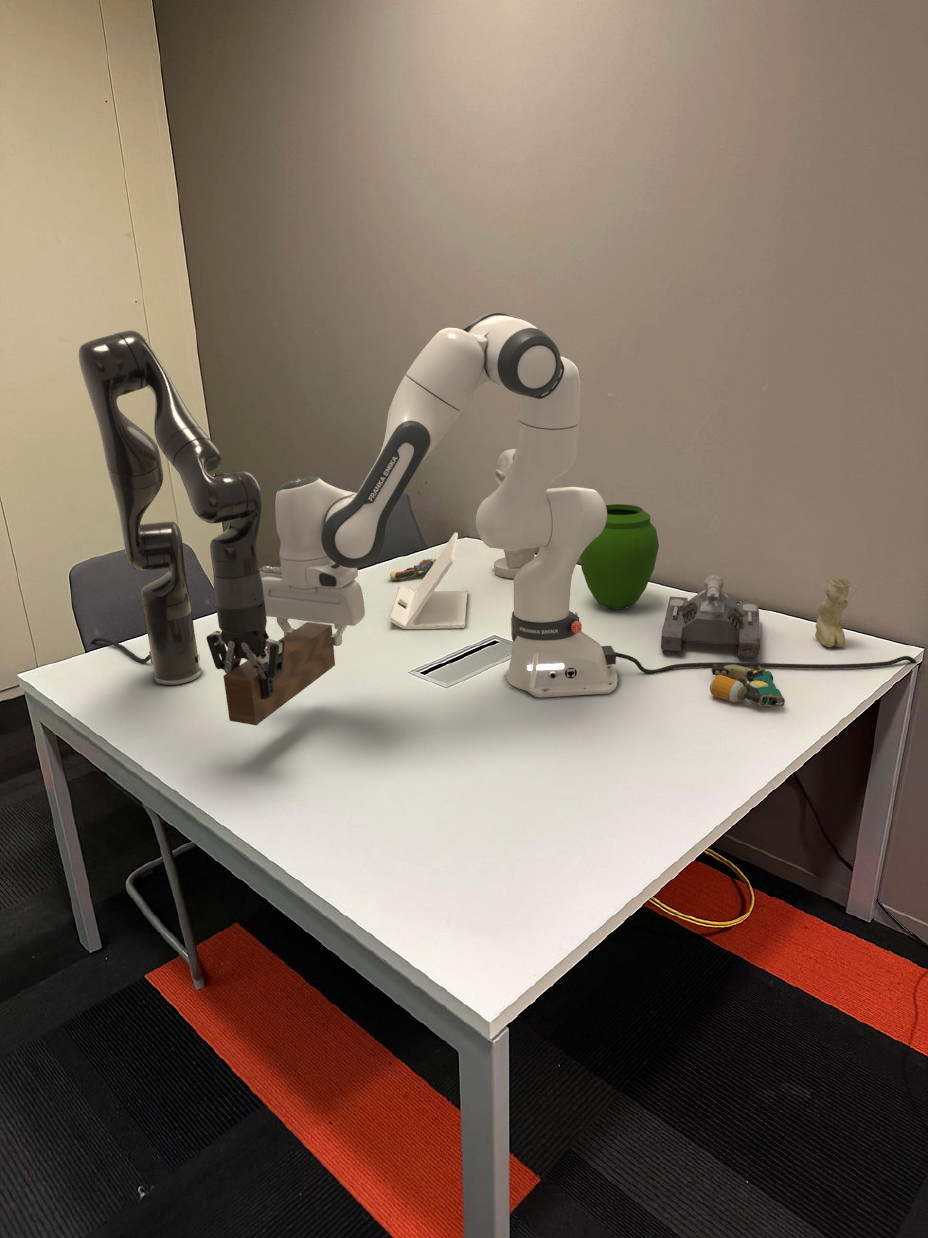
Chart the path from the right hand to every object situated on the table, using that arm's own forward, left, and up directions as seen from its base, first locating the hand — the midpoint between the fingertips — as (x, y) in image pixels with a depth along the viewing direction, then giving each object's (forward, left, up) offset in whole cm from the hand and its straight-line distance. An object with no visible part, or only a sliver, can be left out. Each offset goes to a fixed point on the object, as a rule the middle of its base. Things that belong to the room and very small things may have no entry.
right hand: (313, 641), depth 156 cm
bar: (+3, +8, -6) cm, 10 cm away
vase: (-58, -65, -16) cm, 88 cm away
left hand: (+6, +17, -3) cm, 18 cm away
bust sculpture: (-34, -89, -16) cm, 96 cm away
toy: (-78, -43, -16) cm, 90 cm away
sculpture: (-103, -42, -16) cm, 112 cm away
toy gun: (-2, -90, -16) cm, 92 cm away
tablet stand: (-12, -59, -16) cm, 62 cm away
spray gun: (-81, -16, -16) cm, 84 cm away
